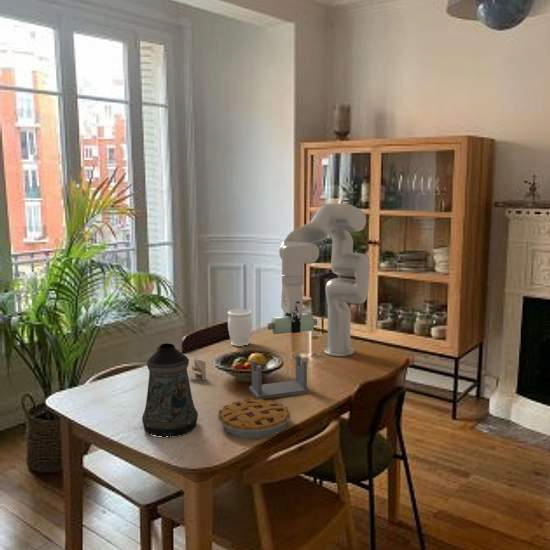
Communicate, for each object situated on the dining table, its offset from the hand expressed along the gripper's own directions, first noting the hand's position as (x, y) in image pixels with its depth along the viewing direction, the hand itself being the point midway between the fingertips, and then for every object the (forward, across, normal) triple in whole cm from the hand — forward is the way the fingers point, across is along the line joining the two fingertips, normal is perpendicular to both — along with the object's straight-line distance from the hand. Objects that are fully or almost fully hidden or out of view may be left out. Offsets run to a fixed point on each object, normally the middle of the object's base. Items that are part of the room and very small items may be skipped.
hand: (292, 329), depth 206 cm
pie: (+21, +27, -22) cm, 41 cm away
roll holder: (+20, +4, -6) cm, 22 cm away
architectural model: (+21, -18, -30) cm, 41 cm away
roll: (+1, 0, 0) cm, 1 cm away
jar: (+20, -55, -4) cm, 59 cm away
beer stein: (+21, +18, -47) cm, 55 cm away
